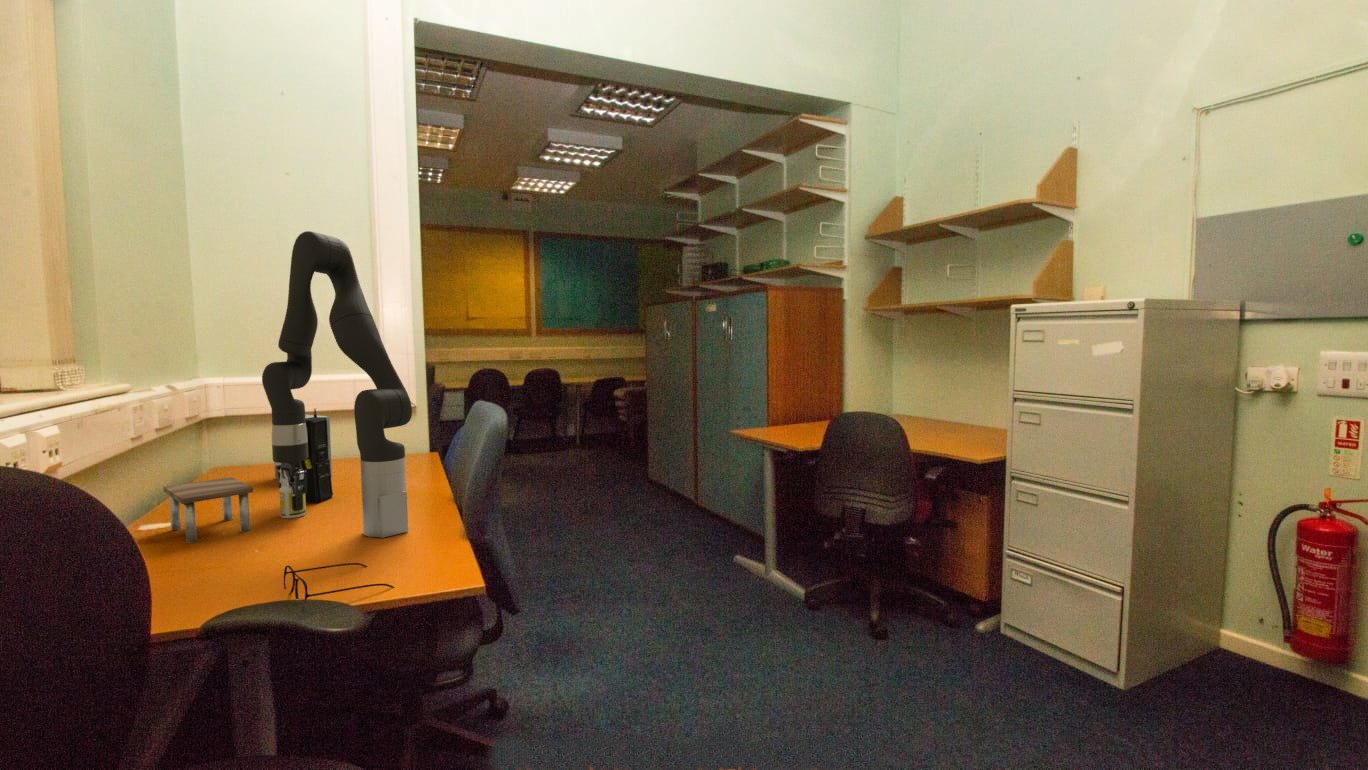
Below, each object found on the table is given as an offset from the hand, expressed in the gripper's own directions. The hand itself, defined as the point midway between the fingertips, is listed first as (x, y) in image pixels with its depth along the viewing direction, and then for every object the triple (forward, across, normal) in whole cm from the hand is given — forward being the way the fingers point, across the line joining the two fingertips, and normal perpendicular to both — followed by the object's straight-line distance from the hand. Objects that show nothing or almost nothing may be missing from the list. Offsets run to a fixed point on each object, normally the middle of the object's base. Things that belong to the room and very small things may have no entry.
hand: (293, 507), depth 154 cm
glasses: (+3, -55, +11) cm, 56 cm away
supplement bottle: (+2, 0, 0) cm, 2 cm away
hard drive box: (+2, +42, -17) cm, 45 cm away
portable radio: (+2, +11, -9) cm, 14 cm away
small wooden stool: (+2, +2, +16) cm, 17 cm away
